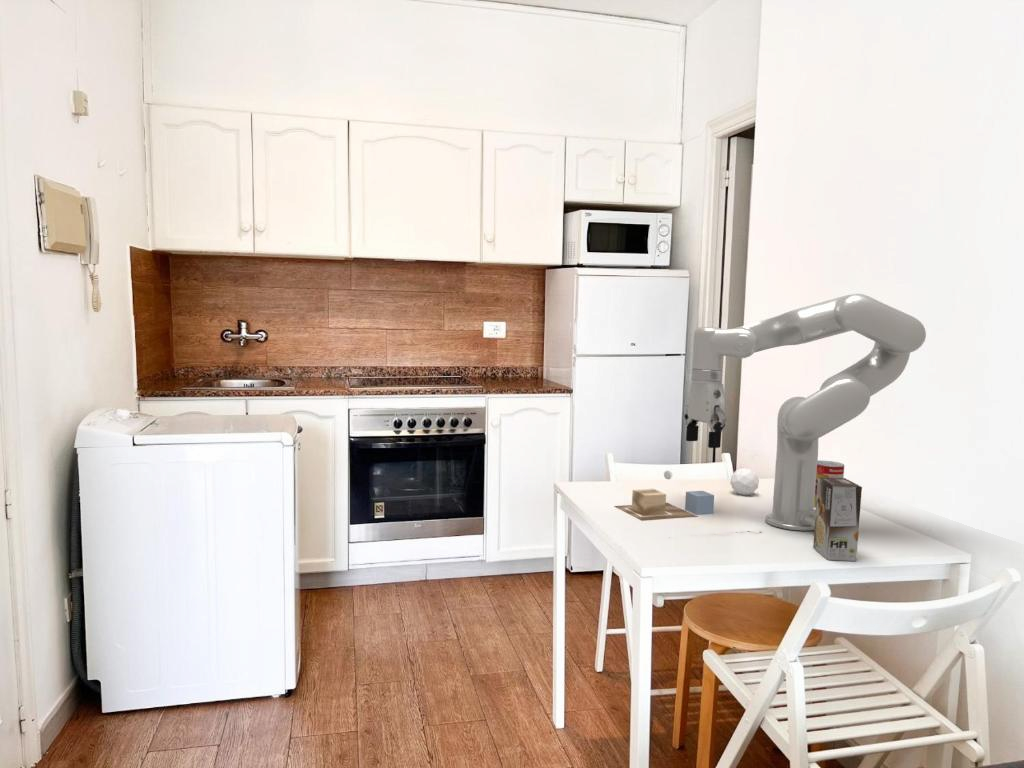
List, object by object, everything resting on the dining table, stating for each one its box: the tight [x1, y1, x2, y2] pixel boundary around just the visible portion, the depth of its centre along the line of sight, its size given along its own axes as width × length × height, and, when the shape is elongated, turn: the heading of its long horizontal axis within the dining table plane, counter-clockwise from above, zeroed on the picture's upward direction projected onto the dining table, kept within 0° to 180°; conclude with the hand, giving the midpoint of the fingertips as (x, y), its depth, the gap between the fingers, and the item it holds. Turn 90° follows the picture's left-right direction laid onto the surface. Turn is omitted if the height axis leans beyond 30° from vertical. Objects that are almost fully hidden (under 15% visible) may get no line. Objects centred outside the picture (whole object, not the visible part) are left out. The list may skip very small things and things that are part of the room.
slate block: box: [684, 490, 715, 516], centre depth 190 cm, size 5×5×6 cm
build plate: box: [613, 502, 699, 522], centre depth 189 cm, size 14×16×1 cm
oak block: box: [631, 488, 667, 515], centre depth 188 cm, size 6×6×5 cm
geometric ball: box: [730, 467, 760, 496], centre depth 217 cm, size 8×8×8 cm
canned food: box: [814, 459, 845, 508], centre depth 206 cm, size 8×8×12 cm
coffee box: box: [812, 477, 863, 562], centre depth 162 cm, size 9×6×16 cm
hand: (702, 444), depth 189 cm, fingers open, 9 cm apart
